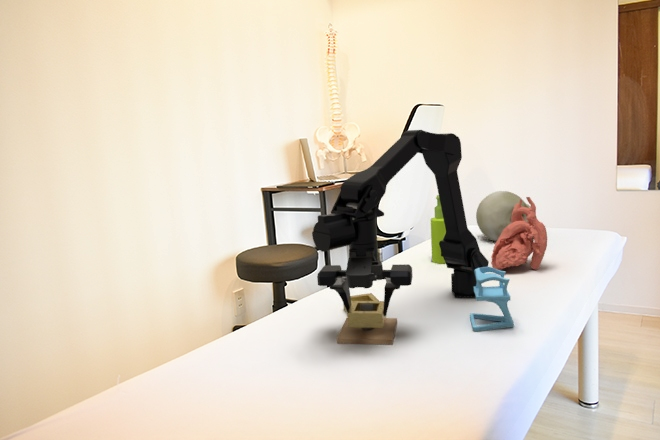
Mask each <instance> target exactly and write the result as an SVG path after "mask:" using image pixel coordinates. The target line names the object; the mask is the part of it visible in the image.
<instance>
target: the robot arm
mask: <svg viewBox="0 0 660 440" xmlns="http://www.w3.org/2000/svg"><path fill="white" fill-rule="evenodd" d="M418 153H419V154H421V155H422V157H423V160H424V163H425V165H426V166H427V168H428V169H429V170H430V171H431V172H432V174H433V175H434V177H435V183H436V187H437V193H438V194H437V195H439V199H440V204H441V209H442V214H443V219H444V224H445V229H446V234H445V236H444V238H443V240H442V241H440V242H439V246H440V249H441V256H442V257H443V258H444V260H445V262H446V264H445V265H446V268H447V269H451V270H452V269H453V272H452V273H451V275H450V277H451V280H450V281H451V282H450V283H451V284H450V285H451V293H452V294H453V297H454V298H476V296H475V293H474V286H476V284H477V281H476V277H475V272H474V270H475V269H477V268H481V267H489V261H490V260H488V259H487V258H486V256H485V255H484V254H483V253H482V251H481V249H480V247H479V244H478V243H479V242H478V240H477V238H476V237H475V236H474V234H473V233H472V232H471V231H470V230H469V228H468V224H467V218H466V212H465V208H464V207H465V206H464V202H463V197H462V192H461V187H460V186H461V185H460V180H459V175H458V168H459V165H460V163H461V161H462V157H463V155H462V143H461V139H460V137H459V136H457V135H456V133H451V132H450V133H449V132H448V133H433V132H429V131H426V130H423V129H411V130H406V131H404V132H402V134H401V136H400V138H399V139H398V140H396V141H395V142H394V143H393V145H391V146H390V147H389V148H388V149H387V150H386V151H385V152H384V153H383V154H382V155H381V156H379V158H378V159H377V160H375V162H374V163H373V164H371V166H369V167H368V168H366V169H364V170H362V171H359V172H356V173H355V174H353V175H351V176H350V177H348V178H347V179H346V180H344V181H343V182H342V184H341V185H340V192H339V193H338V196H337V198H336V200H335V202H334V205H333V206H332V208H331V211H330V214H320V215H318V216H317V222H316V223H315V224H314V225H313V230H312V233H311V234H312V235H311V236H312V241H313V243H314V245H315V247H316V249H318V250H319V251H320V252H322V253H323V252H329V251H332V250H336V249H340V248H343V247H348V259H347V265H346V269H343V270H342V266H341V265H340V264H338V265H337V264H336V265H333V264H332V265H331V264H329V265H328V264H327V265H324V266H323V267H322V268H321V269H320V271H318V273H317V276H316V277H317V286H320V287H329V289H330V290H334V291H336V293H337V294H338V296H339V297H340V299H341V301H342V303H344V305H345V308H346V310H347V312H348V311H349V309H350V307H351V297H350V296H351V291H350V289H356V288H363V289H369V288H372V286H373V284H374V282H376V281H381V280H385V285H384V294H383V295H384V296H383V297H384V298H383V301H384V316H386V317H387V315H386V314H387V312H388V309H389V306H390V302H391V298H392V296H393V293H394V292H395V290H400V289H401V287H402V286H404V287H405V286H407V287H408V286H411V285H412V283H413V282H412V281H413V278H414V277H413V267H412V266H411V265H410V264H392V265H391V268H390V269H384V268H383V263H382V261H381V260H379V249H378V246H379V245H378V235H377V234H378V229H377V218H380V217H384V216H385V212H384V211H383V210H381V209H380V208H378V204H379V202H380V201H381V200H382V198H383V197H384V196H385V194H386V191H387V186H388V184H389V182H391V180H392V179H393V178H395V176H396V175H397V174H398V173H399V172H400V171H401V170H403V168H404V167H405V166H406V165H408V163H410V162H411V160H412V159H413V158H414V157H415V156H416V155H417V154H418Z"/></svg>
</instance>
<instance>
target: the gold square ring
mask: <svg viewBox="0 0 660 440" xmlns="http://www.w3.org/2000/svg"><path fill="white" fill-rule="evenodd" d="M363 303H372V304H373V311H361V308H360V305H361V304H363ZM346 315H347V316H346V317H347V318H348V327H362V328H383V326H384V323H385V319H386V318H387V314H386V316H384V300H379V301H353V302H352V304H351V307H350V309H349V311H348V313H346Z"/></svg>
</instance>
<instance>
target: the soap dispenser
mask: <svg viewBox="0 0 660 440" xmlns="http://www.w3.org/2000/svg"><path fill="white" fill-rule="evenodd" d="M435 199H436V206H435V207H434V217H432V218H430V237H431V238H430V240H431V263H433V264H437V265H446V262H445V260H444V258H443V257H442V256H441V249H440V246H439V242H440V241H442V240H443V238H444V236H445V234H446V229H445V224H444V219H443V214H442V209H441V204H440V199H439V194H437V195H436V197H435Z"/></svg>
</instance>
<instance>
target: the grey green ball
mask: <svg viewBox="0 0 660 440" xmlns="http://www.w3.org/2000/svg"><path fill="white" fill-rule="evenodd" d="M520 199H522V197H520V196H519V195H517V194H516V193H514V192H510V191H507V190H498V191H495V192H492V193H490V194H488V195H486V197H484V198H483V199H482V200H480V203H479V204H478V207H477V209H476V214H475V215H476V216H475V219H476V224H477V226H478V229H479V230H480V232H481V233H482V234H483V235H484V236H485V237H486V238H487V239H488V240H491V241H493V242H496V241H497V240H498V238H499V237H500V235H501V233H502V231H503V229H505V228H506V227H507V226H508V225H509V224H511V216H512V212H513V209H514V207H515V205H516V204H517V203H518V204H519V202H520ZM521 206H522V207H527V208H530V206H531V205H530V204H527V203H526V202H525V201H524V199H522V204H521ZM522 217H523V219H524V220H525V221H526V222H529V221H528V220H527V219H526V217H527V216H526V215H525V214H522ZM524 233H525V232H524Z"/></svg>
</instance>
